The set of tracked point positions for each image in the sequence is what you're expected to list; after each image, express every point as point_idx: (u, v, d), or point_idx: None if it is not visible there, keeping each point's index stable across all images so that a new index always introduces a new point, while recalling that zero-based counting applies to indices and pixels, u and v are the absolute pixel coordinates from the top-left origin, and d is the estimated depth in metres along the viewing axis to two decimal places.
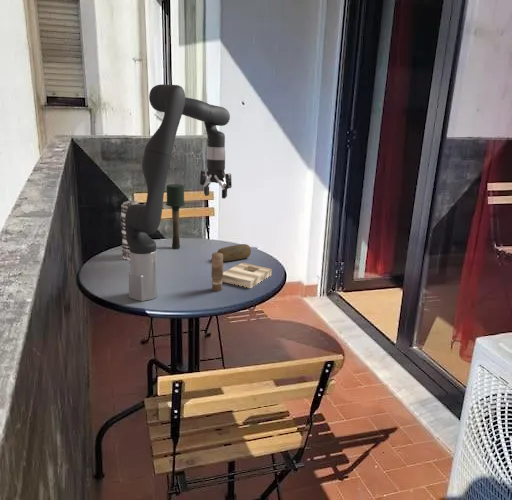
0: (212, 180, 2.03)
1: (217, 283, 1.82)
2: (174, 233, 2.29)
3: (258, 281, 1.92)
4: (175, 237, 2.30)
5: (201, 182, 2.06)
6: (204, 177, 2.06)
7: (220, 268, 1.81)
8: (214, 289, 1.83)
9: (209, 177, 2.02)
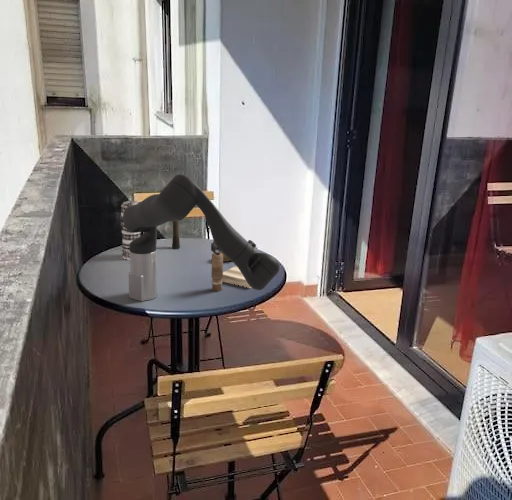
0: None
1: (217, 283, 1.82)
2: (174, 233, 2.29)
3: None
4: (175, 237, 2.30)
5: None
6: None
7: (220, 268, 1.81)
8: (214, 289, 1.83)
9: None
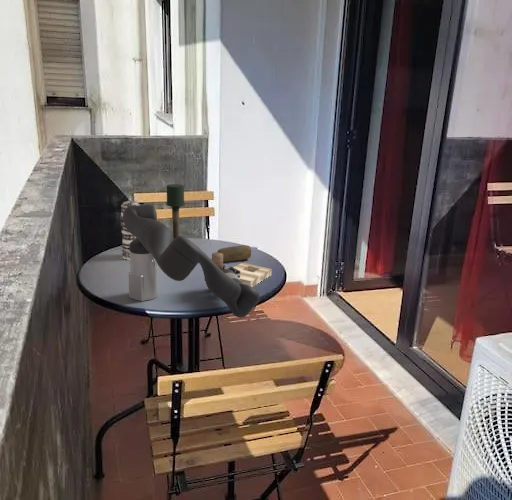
0: None
1: None
2: (174, 233, 2.29)
3: (258, 281, 1.92)
4: (175, 237, 2.30)
5: None
6: None
7: (220, 268, 1.81)
8: None
9: None
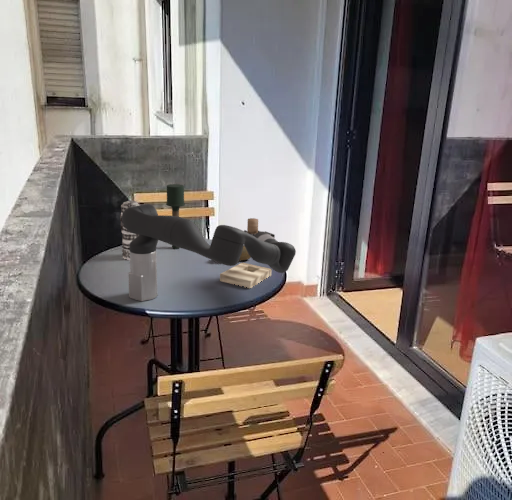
0: None
1: None
2: None
3: (258, 281, 1.92)
4: None
5: None
6: None
7: (256, 232, 1.93)
8: None
9: None
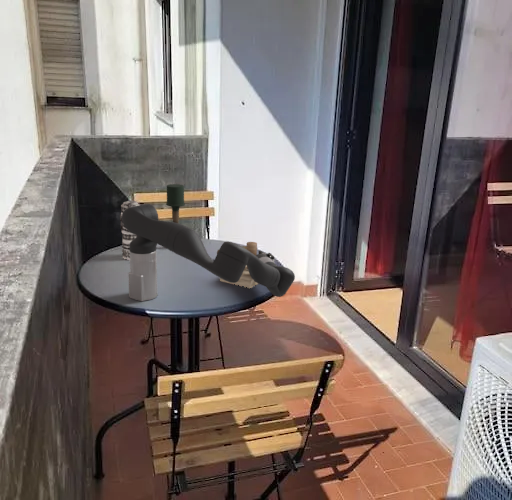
0: None
1: None
2: None
3: None
4: None
5: None
6: None
7: None
8: None
9: None
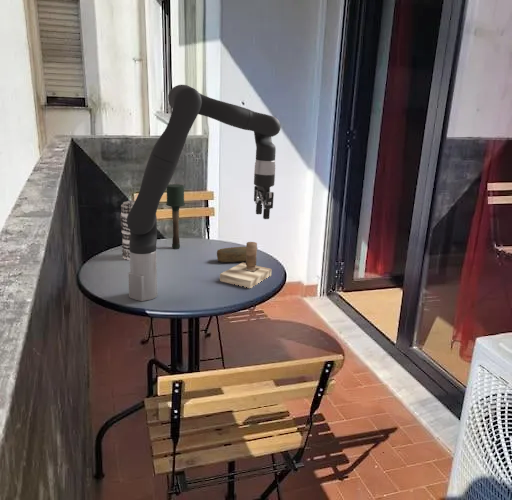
0: None
1: (251, 270, 1.98)
2: (174, 233, 2.29)
3: (258, 281, 1.92)
4: (175, 237, 2.30)
5: None
6: None
7: (254, 256, 1.96)
8: None
9: None
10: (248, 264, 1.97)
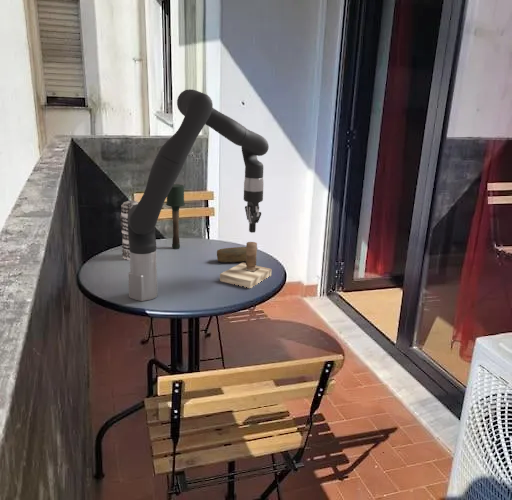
0: None
1: (251, 270, 1.98)
2: (174, 233, 2.29)
3: (258, 281, 1.92)
4: (175, 237, 2.30)
5: None
6: None
7: (254, 256, 1.96)
8: None
9: None
10: (248, 264, 1.97)
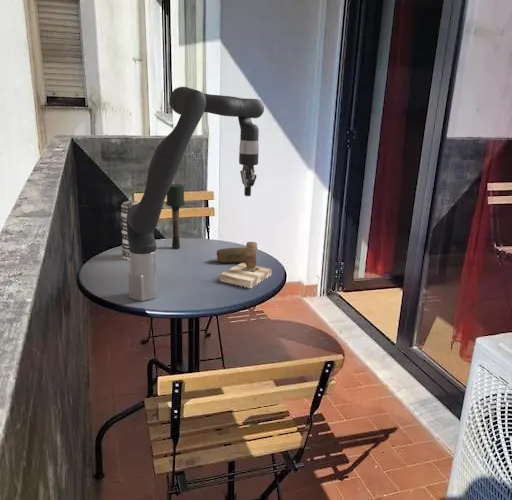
0: None
1: (251, 270, 1.98)
2: (174, 233, 2.29)
3: (258, 281, 1.92)
4: (175, 237, 2.30)
5: None
6: None
7: (254, 256, 1.96)
8: None
9: None
10: (248, 264, 1.97)
